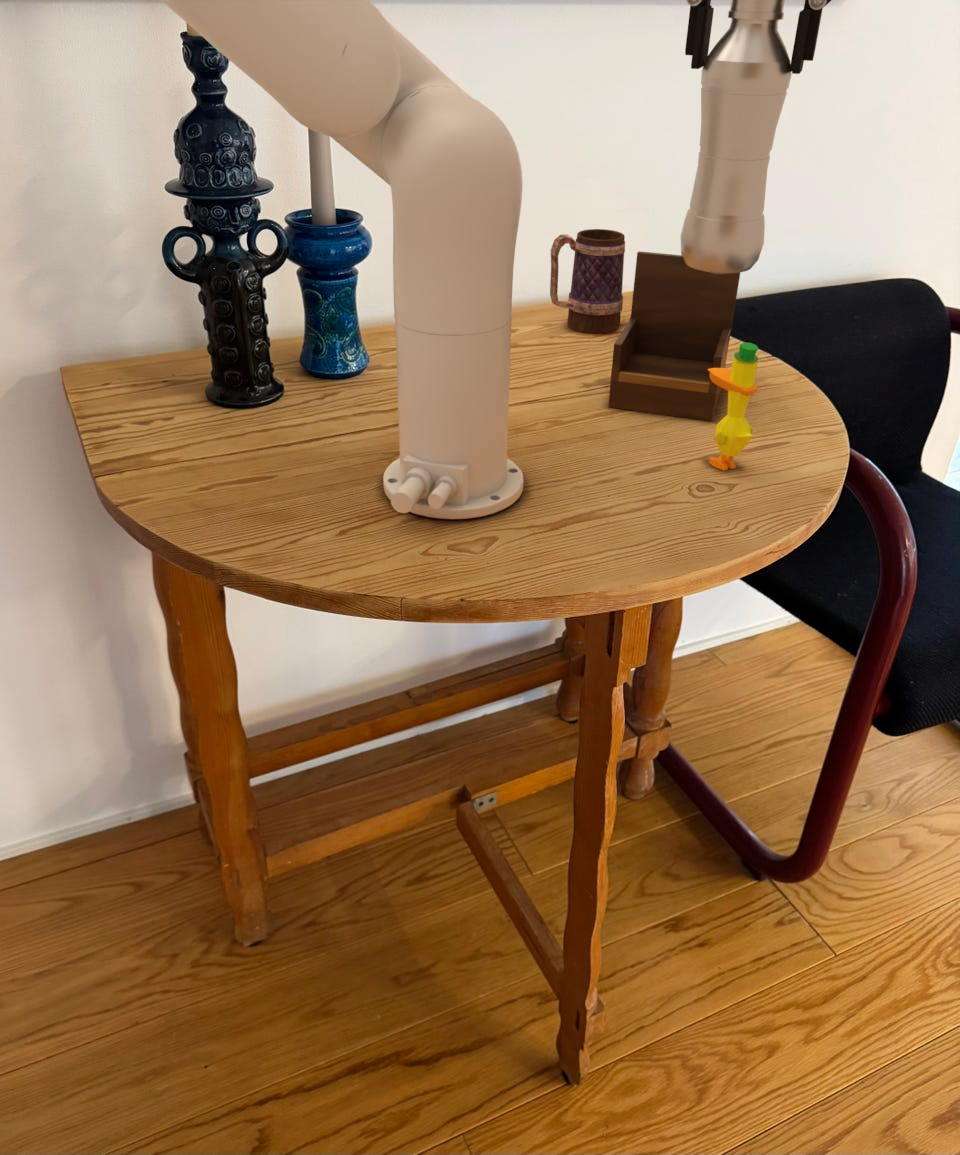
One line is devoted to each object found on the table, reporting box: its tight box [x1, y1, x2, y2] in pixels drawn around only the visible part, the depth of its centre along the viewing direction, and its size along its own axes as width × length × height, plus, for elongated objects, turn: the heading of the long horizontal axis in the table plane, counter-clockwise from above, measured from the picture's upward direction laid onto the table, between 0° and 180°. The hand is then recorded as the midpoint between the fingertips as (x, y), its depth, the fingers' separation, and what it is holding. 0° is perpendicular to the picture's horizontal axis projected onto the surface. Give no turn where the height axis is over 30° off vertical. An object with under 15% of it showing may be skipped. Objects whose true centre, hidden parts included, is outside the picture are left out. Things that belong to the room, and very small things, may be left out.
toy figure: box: [708, 342, 759, 472], centre depth 87 cm, size 7×4×12 cm, turn 30°
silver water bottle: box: [680, 0, 792, 274], centre depth 74 cm, size 6×7×20 cm
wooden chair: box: [607, 250, 741, 422], centre depth 101 cm, size 10×11×14 cm
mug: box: [549, 228, 626, 335], centre depth 121 cm, size 10×7×12 cm
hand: (746, 67), depth 71 cm, fingers closed on silver water bottle, 6 cm apart
